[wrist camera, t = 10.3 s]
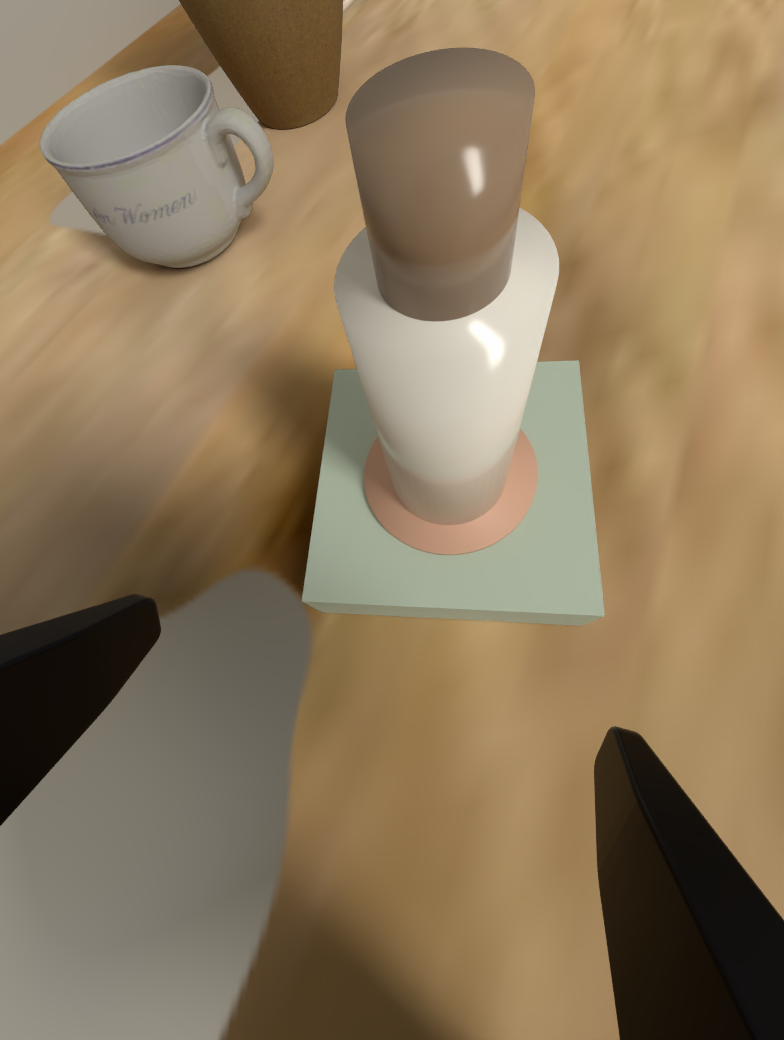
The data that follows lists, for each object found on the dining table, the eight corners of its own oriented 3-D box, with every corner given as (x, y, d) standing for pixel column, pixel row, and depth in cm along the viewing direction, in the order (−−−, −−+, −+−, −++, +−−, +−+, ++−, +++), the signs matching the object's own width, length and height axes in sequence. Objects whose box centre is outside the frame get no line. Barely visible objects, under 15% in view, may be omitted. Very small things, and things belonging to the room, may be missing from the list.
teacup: (103, 273, 32) (0, 152, 25) (183, 180, 35) (111, 46, 28) (251, 315, 29) (180, 187, 21) (326, 207, 32) (287, 61, 24)
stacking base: (582, 625, 19) (607, 614, 16) (322, 612, 21) (299, 599, 18) (563, 399, 23) (580, 356, 20) (348, 404, 25) (333, 365, 22)
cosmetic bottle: (508, 526, 18) (623, 190, 6) (388, 524, 18) (262, 224, 6) (505, 422, 19) (589, -7, 7) (396, 424, 20) (308, 40, 8)
